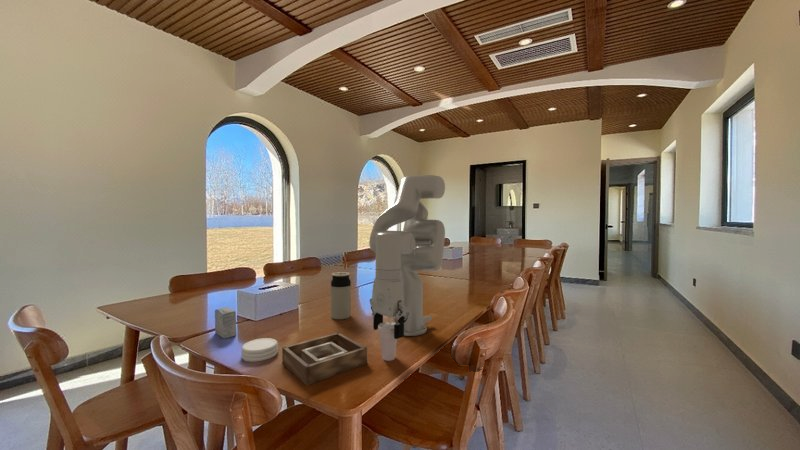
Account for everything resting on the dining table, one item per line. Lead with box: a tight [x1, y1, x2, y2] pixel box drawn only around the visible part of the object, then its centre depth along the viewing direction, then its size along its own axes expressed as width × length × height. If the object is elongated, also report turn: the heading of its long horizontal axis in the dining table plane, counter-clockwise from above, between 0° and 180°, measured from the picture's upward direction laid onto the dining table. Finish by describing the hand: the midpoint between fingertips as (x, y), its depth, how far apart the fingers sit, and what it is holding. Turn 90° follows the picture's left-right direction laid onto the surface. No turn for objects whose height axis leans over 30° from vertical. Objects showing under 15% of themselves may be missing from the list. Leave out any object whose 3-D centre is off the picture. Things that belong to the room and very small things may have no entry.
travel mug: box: [330, 271, 352, 320], centre depth 133 cm, size 8×8×18 cm
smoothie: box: [377, 317, 398, 362], centre depth 95 cm, size 6×6×14 cm
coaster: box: [241, 337, 279, 363], centre depth 97 cm, size 10×10×4 cm
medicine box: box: [214, 306, 237, 339], centre depth 114 cm, size 8×4×9 cm, turn 47°
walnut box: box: [281, 331, 368, 386], centre depth 92 cm, size 18×16×4 cm
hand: (388, 333), depth 94 cm, fingers open, 9 cm apart
